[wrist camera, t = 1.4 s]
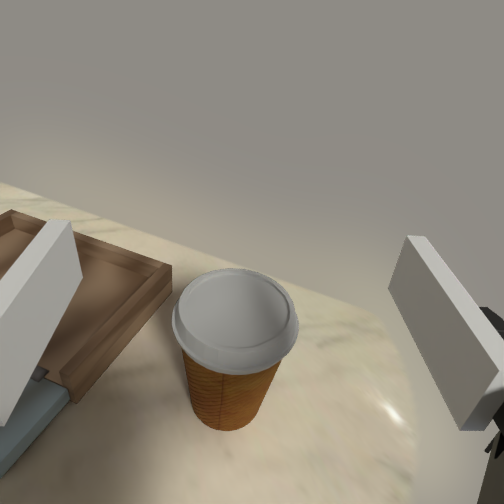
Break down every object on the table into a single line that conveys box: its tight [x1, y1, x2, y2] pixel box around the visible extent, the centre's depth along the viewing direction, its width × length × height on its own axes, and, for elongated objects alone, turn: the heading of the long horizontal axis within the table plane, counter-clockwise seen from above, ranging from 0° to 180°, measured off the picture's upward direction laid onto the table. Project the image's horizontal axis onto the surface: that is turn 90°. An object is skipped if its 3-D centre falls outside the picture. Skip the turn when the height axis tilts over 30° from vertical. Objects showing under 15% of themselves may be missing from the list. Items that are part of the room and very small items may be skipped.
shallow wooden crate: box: [0, 209, 172, 479], centre depth 38 cm, size 23×23×4 cm
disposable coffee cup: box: [172, 268, 299, 431], centre depth 32 cm, size 10×10×12 cm
